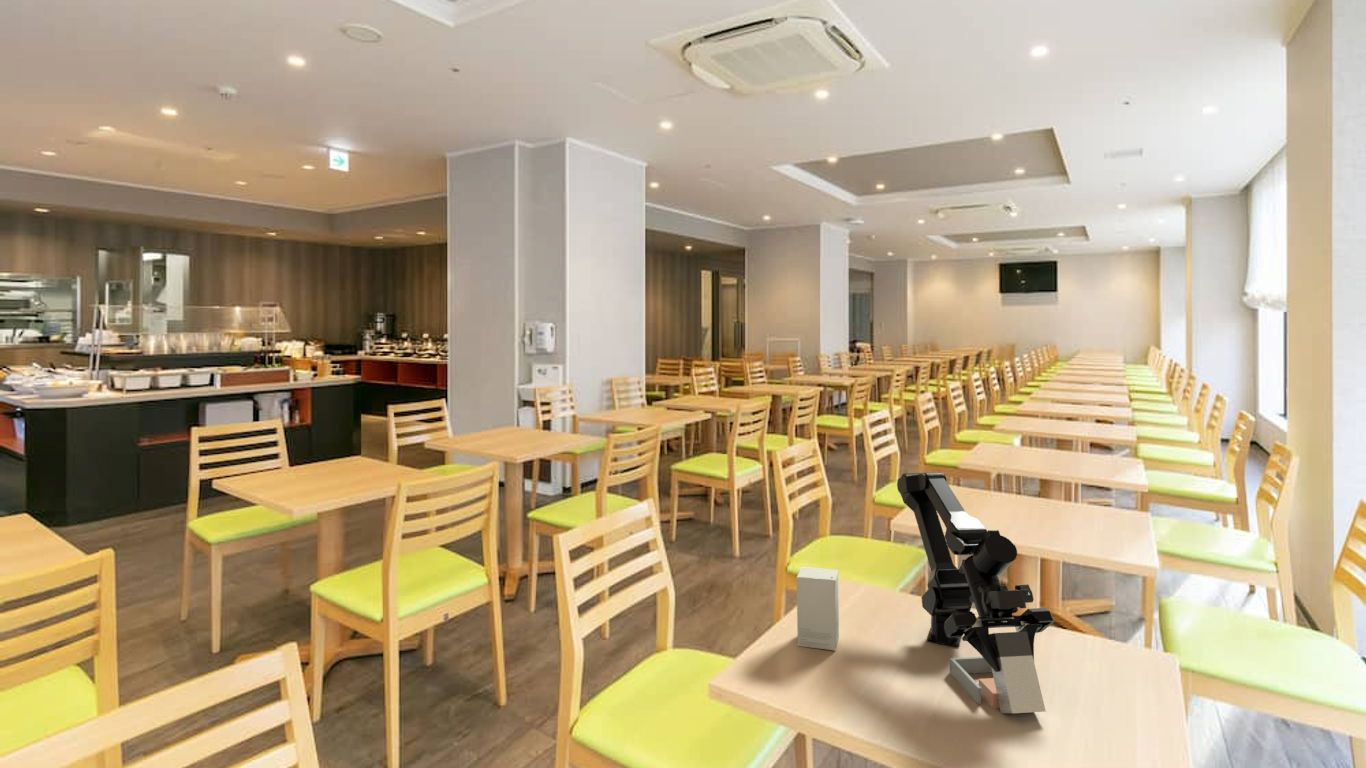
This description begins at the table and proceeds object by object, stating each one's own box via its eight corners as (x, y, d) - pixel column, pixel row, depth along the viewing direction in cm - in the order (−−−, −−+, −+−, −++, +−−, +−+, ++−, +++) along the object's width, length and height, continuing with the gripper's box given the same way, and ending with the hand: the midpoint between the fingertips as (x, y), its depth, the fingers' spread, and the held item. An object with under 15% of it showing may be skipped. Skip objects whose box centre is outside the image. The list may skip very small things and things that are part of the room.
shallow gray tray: (949, 672, 137) (950, 658, 136) (1004, 669, 138) (1004, 655, 137) (977, 703, 126) (978, 688, 126) (1036, 700, 127) (1037, 684, 127)
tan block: (978, 694, 130) (978, 678, 129) (1014, 692, 130) (1014, 676, 130) (992, 709, 125) (993, 693, 124) (1029, 707, 125) (1030, 691, 125)
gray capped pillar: (1001, 713, 123) (984, 634, 128) (1033, 711, 124) (1015, 633, 129) (1012, 713, 119) (994, 633, 125) (1045, 711, 120) (1026, 631, 125)
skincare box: (839, 638, 151) (840, 569, 149) (835, 652, 145) (837, 580, 143) (800, 633, 154) (801, 564, 152) (795, 646, 148) (796, 575, 146)
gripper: (953, 570, 127) (982, 658, 117) (1050, 566, 128) (1087, 652, 118) (932, 594, 135) (958, 678, 125) (1024, 590, 137) (1056, 673, 127)
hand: (1014, 670), depth 124 cm, fingers closed on gray capped pillar, 6 cm apart
